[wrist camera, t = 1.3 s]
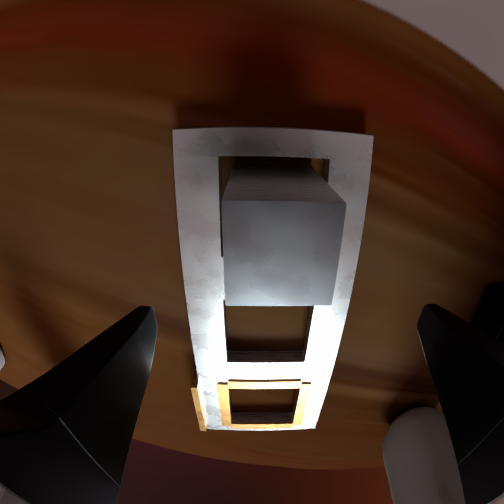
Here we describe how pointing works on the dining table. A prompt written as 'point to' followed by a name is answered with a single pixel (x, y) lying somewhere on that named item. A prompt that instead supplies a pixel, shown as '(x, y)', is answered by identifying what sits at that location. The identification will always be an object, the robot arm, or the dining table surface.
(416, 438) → the glass bottle
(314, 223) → the steel block
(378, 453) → the dining table surface
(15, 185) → the dining table surface
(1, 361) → the can
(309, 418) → the white flat frame
